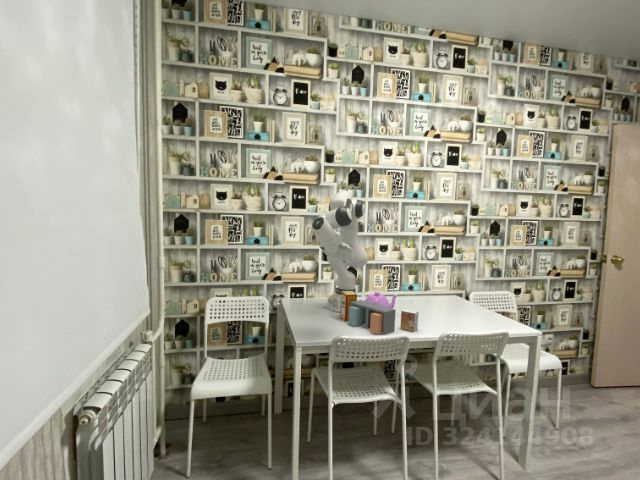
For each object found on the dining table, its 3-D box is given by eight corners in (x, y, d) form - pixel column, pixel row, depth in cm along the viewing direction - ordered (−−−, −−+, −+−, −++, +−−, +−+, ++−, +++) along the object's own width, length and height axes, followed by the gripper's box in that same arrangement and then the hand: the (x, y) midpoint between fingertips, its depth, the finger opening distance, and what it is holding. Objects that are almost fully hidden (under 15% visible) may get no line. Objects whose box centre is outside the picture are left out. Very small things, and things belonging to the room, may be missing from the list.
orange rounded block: (377, 334, 212) (378, 315, 211) (369, 331, 216) (370, 313, 215) (388, 331, 218) (389, 313, 217) (380, 328, 222) (381, 310, 221)
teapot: (397, 321, 238) (398, 298, 237) (360, 317, 243) (361, 295, 241) (398, 311, 260) (399, 290, 259) (364, 308, 264) (364, 287, 263)
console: (384, 334, 213) (385, 312, 212) (349, 323, 232) (350, 302, 230) (394, 331, 219) (395, 309, 218) (360, 320, 237) (361, 299, 236)
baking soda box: (340, 316, 244) (341, 290, 242) (350, 316, 245) (351, 290, 244) (345, 321, 234) (346, 294, 233) (355, 320, 236) (357, 293, 234)
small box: (400, 329, 223) (401, 310, 222) (403, 327, 228) (404, 308, 227) (414, 332, 219) (415, 313, 218) (417, 329, 223) (418, 311, 222)
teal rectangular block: (354, 326, 224) (355, 308, 223) (348, 324, 228) (349, 306, 227) (365, 323, 230) (366, 306, 229) (359, 321, 234) (360, 304, 233)
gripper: (351, 241, 199) (364, 260, 206) (323, 237, 214) (336, 255, 221) (344, 251, 196) (357, 269, 204) (317, 246, 212) (330, 263, 219)
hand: (346, 262), depth 213 cm, fingers closed
